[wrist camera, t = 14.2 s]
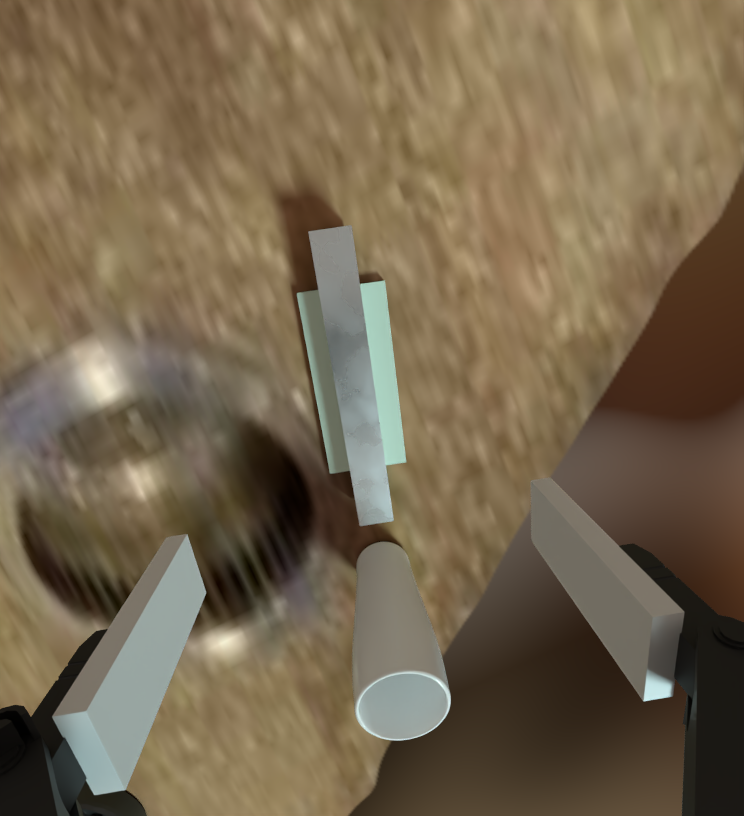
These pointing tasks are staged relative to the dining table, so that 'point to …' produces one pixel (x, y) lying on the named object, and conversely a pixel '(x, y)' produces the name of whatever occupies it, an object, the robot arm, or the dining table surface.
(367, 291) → the sage board
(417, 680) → the drinking glass
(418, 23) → the dining table surface
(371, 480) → the steel rail
